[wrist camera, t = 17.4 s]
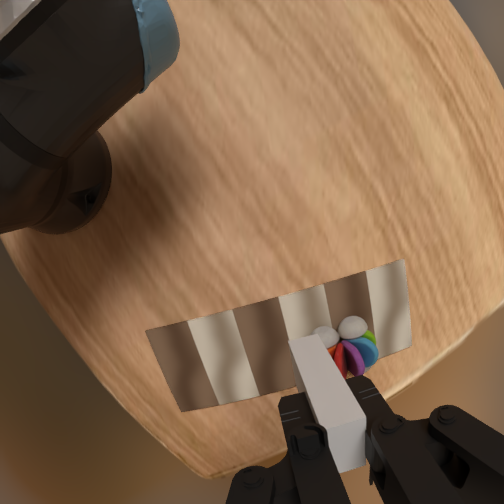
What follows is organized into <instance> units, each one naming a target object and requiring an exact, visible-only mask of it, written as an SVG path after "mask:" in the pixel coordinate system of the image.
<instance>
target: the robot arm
mask: <svg viewBox="0 0 504 504" xmlns="http://www.w3.org/2000/svg"><path fill="white" fill-rule="evenodd" d="M179 47H180V39H179V32H178V28H177V25H176V21H175V19H174V16H173V13H172V11H171V9H170V6H169V4H168V2H167V0H0V234H3V233H7V232H11V231H14V230H18V229H22V228H26V227H30V228H32V229H35V230H38V231H40V232H43V233H47V234H62V233H66V232H70V231H73V230H76V229H78V228H80V227H82V226H84V225H85V224H87V223H88V222H89V221H90V220H91V219H92V218H93V217H94V216H95V215H96V214H97V213H98V211H99V210H100V208H101V207H102V205H103V203H104V201H105V199H106V196H107V194H108V191H109V187H110V182H111V173H112V167H111V158H110V153H109V150H108V147H107V145H106V142H105V140H104V139H103V137H102V136H101V134H100V133H99V132H98V131H97V130H98V129H99V128H100V127H101V126H102V125H103V124H104V123H105V122H106V121H107V120H108V119H109V118H110V117H112V116H113V115H114V114H115V113H116V112H117V111H118V110H119V109H120V108H121V107H123V106H124V105H125V104H126V103H127V102H128V101H129V100H131V99H132V98H133V97H134V96H135V95H137V94H138V93H139V94H141V93H143V92H144V91H145V90H146V89H147V88H148V86H149V84H150V83H151V82H152V81H153V80H154V79H156V78H157V77H158V76H159V75H160V74H161V73H163V72H164V71H165V70H166V69H167V68H169V67H170V66H171V65H172V64H173V63H174V61H175V60H176V58H177V54H178V51H179ZM288 344H289V349H290V355H291V360H292V365H293V371H294V376H295V382H296V386H297V389H298V392H299V393H297V394H293V395H289V396H285V397H281V399H280V402H279V405H278V408H279V412H280V417H281V421H282V425H283V430H284V434H285V438H286V442H287V448H288V450H287V454H286V456H285V457H284V458H283V459H282V460H281V461H280V462H279V463H277V464H275V465H274V466H272V467H269V468H265V467H262V466H250V467H246V468H244V469H242V470H240V471H239V472H238V473H236V474H235V476H234V478H233V480H232V483H231V487H230V490H229V494H228V497H227V500H226V504H351V503H350V500H349V497H348V495H347V492H346V490H345V487H344V485H343V482H342V480H341V477H340V474H339V473H342V472H345V471H348V470H352V469H354V468H358V467H361V466H364V465H366V458H367V460H368V462H369V464H370V476H369V482H370V485H372V484H373V481H374V483H375V485H376V487H377V490H378V491H379V494H380V496H381V498H382V500H383V502H384V504H504V435H502V434H501V433H499V432H497V431H496V430H494V429H493V428H491V427H489V426H488V425H486V424H484V423H483V422H481V421H479V420H478V419H476V418H475V417H473V416H472V415H470V414H468V413H467V412H465V411H463V410H462V409H460V408H459V407H456V406H453V405H444V406H440V407H438V408H436V409H434V410H433V411H432V412H431V415H430V417H429V418H427V419H421V420H413V421H409V420H406V419H405V418H403V417H402V416H400V415H397V414H394V413H393V411H392V410H391V408H390V407H389V405H388V404H387V403H386V401H385V400H384V398H383V397H382V395H381V394H380V393H379V391H378V390H377V388H375V385H374V384H373V383H372V381H371V380H370V379H368V378H367V377H365V376H363V375H359V376H356V377H352V378H349V379H346V380H345V379H344V378H343V376H342V374H341V373H340V371H339V369H338V367H337V366H336V364H335V362H334V361H333V359H332V357H331V356H330V354H329V352H328V350H327V349H326V347H325V345H324V344H323V342H322V340H321V339H320V337H319V335H318V334H314V335H310V336H306V337H302V338H298V339H294V340H290V341H288Z"/></svg>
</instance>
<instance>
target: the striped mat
mask: <svg viewBox="0 0 504 504" xmlns="http://www.w3.org/2000/svg"><path fill="white" fill-rule="evenodd" d="M349 316H358V317H360V318H362V319H363V320H364V321H365V322H366V324H367V326H368V329H367V330H369V331H370V332H372V333H373V334H374V336H375V338H376V347H377V349H378V351H379V356H378V359H380V358H382V357H385V356H387V355H390V354H393V353H395V352H398V351H400V350H403V349H405V348H407V347H410V346H412V338H411V322H410V309H409V297H408V287H407V278H406V270H405V262H404V259H400V260H397V261H394V262H391V263H388V264H385V265H382V266H379V267H376V268H373V269H370V270H366V271H363V272H360V273H357V274H354V275H350V276H347V277H344V278H341V279H337V280H334V281H331V282H327V283H324V284H321V285H317V286H314V287H310V288H307V289H304V290H300V291H297V292H293V293H290V294H286V295H283V296H279V297H276V298H272V299H268V300H265V301H261V302H257V303H254V304H250V305H246V306H243V307H239V308H235V309H231V310H227V311H224V312H220V313H216V314H212V315H208V316H204V317H200V318H196V319H192V320H188V321H184V322H180V323H176V324H171V325H167V326H163V327H159V328H154V329H150V330H146V331H145V332H146V334H147V337H148V339H149V342H150V344H151V346H152V349H153V351H154V354H155V356H156V358H157V361H158V363H159V365H160V367H161V370H162V372H163V374H164V376H165V379H166V381H167V383H168V385H169V387H170V389H171V392H172V394H173V396H174V398H175V400H176V402H177V404H178V406H179V408H180V410H181V412H185V411H190V410H196V409H201V408H207V407H212V406H217V405H222V404H227V403H231V402H236V401H240V400H245V399H249V398H253V397H257V396H261V395H265V394H269V393H273V392H277V391H281V390H284V389H288V388H291V387H295V386H296V382H295V376H294V371H293V365H292V360H291V355H290V349H289V344H288V341H290V340H294V339H298V338H302V337H306V336H310V335H311V333H312V332H313V331H314V330H315V329H316V328H318V327H321V326H328V327H331V328H333V329H334V330H335V331H336V332H338V327H339V324H340V323H341V321H342V320H343V319H345V318H346V317H349ZM341 342H342V338H341V337H340V338H339V341H338V343H341Z"/></svg>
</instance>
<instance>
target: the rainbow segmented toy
mask: <svg viewBox="0 0 504 504" xmlns="http://www.w3.org/2000/svg"><path fill="white" fill-rule="evenodd" d="M367 329H368V326H367V324H366V322H365V321H364V320H363V319H362V318H360V317H358V316H349V317H346V318H345V319H343V320H342V321H341V323H340V324H339V327H338V332H336V331H335V330H334V329H333V328H331V327H328V326H321V327H318V328H316V329H315V330H314V331H313V332H312V333H311V335H314V334H318V335H319V337H320V339H321V340H322V342H323V344H324V345H325V347H326V349H327V350H328V352H329V354H330V356H331V357H332V359H333V361H334V362H335V364H336V366H337V367H338V369H339V371H340V373H341V374H342V376H343V378H344V379H345V380H346V376H347V371H348V370H349V371H350V372H351V373H352V374H353V375H354V376H355V377H356V376H359V375H363V374H364V373H365V372H367V371H368V370H369V369H370V368H371V366H372V365H373V364H374V363H375V362H376V361H377V359H378V356H379V351H378V349H377V347H376V338H375V336H374V334H373V333H372V332H370V331H369V330H367ZM340 337H341V338H342V342H341V343H338V341H339V338H340Z"/></svg>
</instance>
